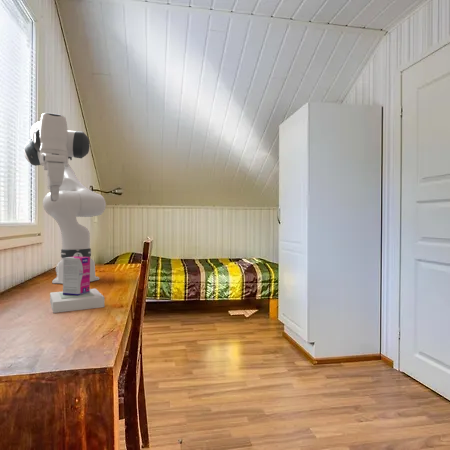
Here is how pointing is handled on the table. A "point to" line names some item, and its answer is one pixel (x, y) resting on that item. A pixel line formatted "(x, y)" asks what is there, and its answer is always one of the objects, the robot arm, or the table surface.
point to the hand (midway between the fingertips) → (54, 200)
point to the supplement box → (76, 275)
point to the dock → (76, 301)
